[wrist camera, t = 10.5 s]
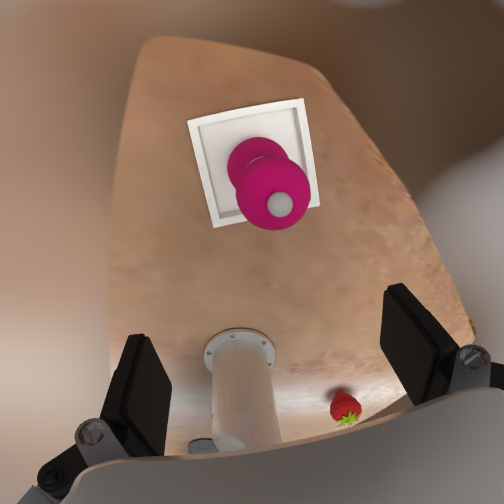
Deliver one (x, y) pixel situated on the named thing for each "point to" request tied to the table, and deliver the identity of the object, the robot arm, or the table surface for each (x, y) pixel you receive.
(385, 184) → the table surface
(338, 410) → the strawberry
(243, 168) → the pepper mill
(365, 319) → the table surface
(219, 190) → the tray
